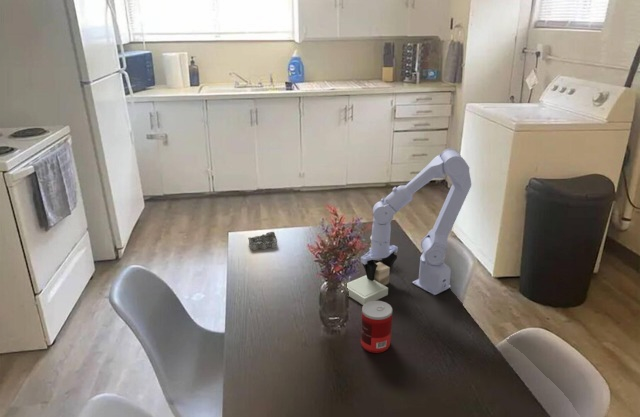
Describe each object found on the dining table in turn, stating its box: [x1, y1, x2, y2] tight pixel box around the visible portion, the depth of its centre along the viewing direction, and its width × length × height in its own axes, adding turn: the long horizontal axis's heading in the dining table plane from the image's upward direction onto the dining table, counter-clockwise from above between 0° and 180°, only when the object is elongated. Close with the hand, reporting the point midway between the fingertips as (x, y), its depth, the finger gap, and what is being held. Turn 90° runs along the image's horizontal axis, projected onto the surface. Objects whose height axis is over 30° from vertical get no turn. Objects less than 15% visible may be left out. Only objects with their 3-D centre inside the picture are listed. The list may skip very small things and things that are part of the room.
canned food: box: [360, 300, 393, 354], centre depth 123 cm, size 8×8×11 cm
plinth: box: [346, 274, 389, 306], centre depth 147 cm, size 10×10×3 cm
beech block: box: [374, 261, 391, 286], centre depth 153 cm, size 4×4×6 cm
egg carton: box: [248, 231, 278, 251], centre depth 179 cm, size 11×8×4 cm
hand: (377, 277), depth 153 cm, fingers open, 6 cm apart
